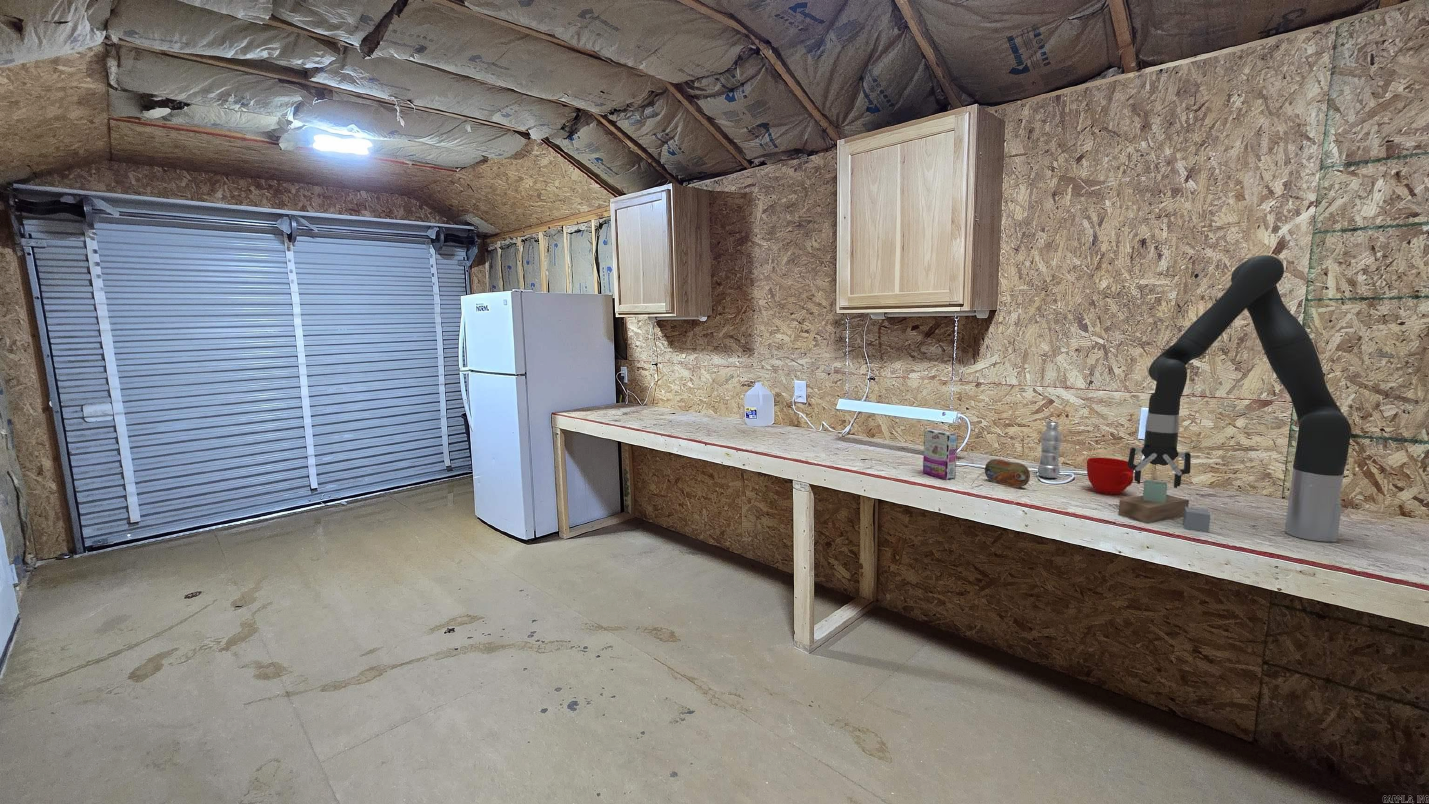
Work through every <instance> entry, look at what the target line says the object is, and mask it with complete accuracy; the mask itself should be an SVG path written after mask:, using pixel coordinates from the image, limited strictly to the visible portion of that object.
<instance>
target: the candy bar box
mask: <svg viewBox="0 0 1429 804" xmlns="http://www.w3.org/2000/svg"><path fill="white" fill-rule="evenodd" d="M958 435H959V434H958V432H952V431H947V430H941V429H937V428H928V429H924V439H923V459H922V460H923V461H922V474H924V475H927V476H930V477H936V478H938V479H942V480H946V481H949V480H955V479H956V477H957V476H956V475H957V474H956V473H957V471H956V470H957V458H958V457H957V454H958Z"/></svg>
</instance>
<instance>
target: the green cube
mask: <svg viewBox="0 0 1429 804" xmlns="http://www.w3.org/2000/svg"><path fill="white" fill-rule="evenodd" d="M1143 481H1144V484H1143V491H1142V492H1143V493H1142V496H1143V500H1144V501H1151V502H1158V503H1166V494H1167V491H1168V484H1167V482H1166V481H1160V480H1151V479H1144V480H1143ZM1167 495H1168V494H1167Z"/></svg>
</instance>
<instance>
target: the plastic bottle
mask: <svg viewBox="0 0 1429 804" xmlns="http://www.w3.org/2000/svg"><path fill="white" fill-rule="evenodd" d="M1059 424H1060V423H1059V422H1057V421H1050V420H1049V421H1046V424H1045V428H1046V429H1044V431H1043V432H1042V433H1041V435H1040V440H1041V441H1040V442H1041V452H1040V454H1041V455H1040V459H1039V464H1038V467H1037V474H1038V475H1039V476H1040V477H1043V478H1045V479H1056V478H1058V476H1059V475H1060V466H1059V463H1060V462H1059V459H1060V458H1059V456H1060V451H1061V450H1060V449H1061V445H1062V441H1063V436H1062V433H1061V432H1060V430H1059Z"/></svg>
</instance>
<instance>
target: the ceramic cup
mask: <svg viewBox="0 0 1429 804" xmlns="http://www.w3.org/2000/svg"><path fill="white" fill-rule="evenodd" d="M1086 473H1087V478H1088V481H1089V483H1090V485H1091V486H1092V487H1093V489H1094V490H1095V491H1096V492H1097V493H1100V494H1104V495H1110V496H1111V495H1112V496H1113V495H1114V496H1116V495H1120V494H1121V493H1123V492H1124V491H1125V490H1126V489H1127V488H1128V487H1130V486H1131V485H1132V484H1133V482H1134V474H1135V470H1134V469H1132V468H1129V467H1128V460H1124V459H1118V458H1111V457H1091V458H1087V459H1086Z"/></svg>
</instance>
